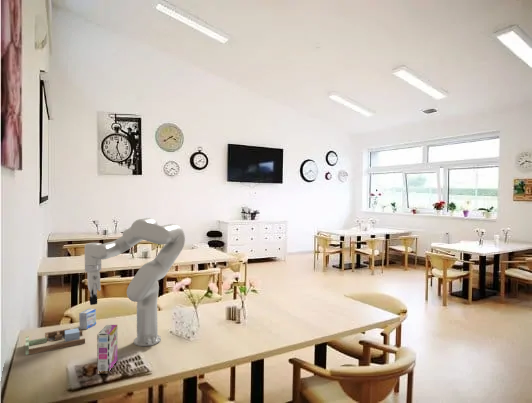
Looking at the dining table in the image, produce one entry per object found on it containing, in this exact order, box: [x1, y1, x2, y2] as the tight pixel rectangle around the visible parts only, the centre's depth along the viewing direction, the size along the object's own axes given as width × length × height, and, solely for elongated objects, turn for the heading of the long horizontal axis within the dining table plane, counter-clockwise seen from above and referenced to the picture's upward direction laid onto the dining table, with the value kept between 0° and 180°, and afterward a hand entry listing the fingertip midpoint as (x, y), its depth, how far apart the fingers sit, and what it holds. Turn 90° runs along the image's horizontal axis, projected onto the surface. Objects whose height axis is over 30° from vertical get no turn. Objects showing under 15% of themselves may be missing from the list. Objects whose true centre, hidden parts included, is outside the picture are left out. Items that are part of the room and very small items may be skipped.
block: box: [64, 327, 81, 342], centre depth 184 cm, size 6×6×5 cm
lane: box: [25, 328, 86, 356], centre depth 183 cm, size 18×24×4 cm
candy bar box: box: [96, 324, 118, 372], centre depth 156 cm, size 11×5×16 cm, turn 5°
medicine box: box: [78, 308, 97, 330], centre depth 203 cm, size 8×4×9 cm, turn 168°
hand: (93, 304), depth 189 cm, fingers closed
